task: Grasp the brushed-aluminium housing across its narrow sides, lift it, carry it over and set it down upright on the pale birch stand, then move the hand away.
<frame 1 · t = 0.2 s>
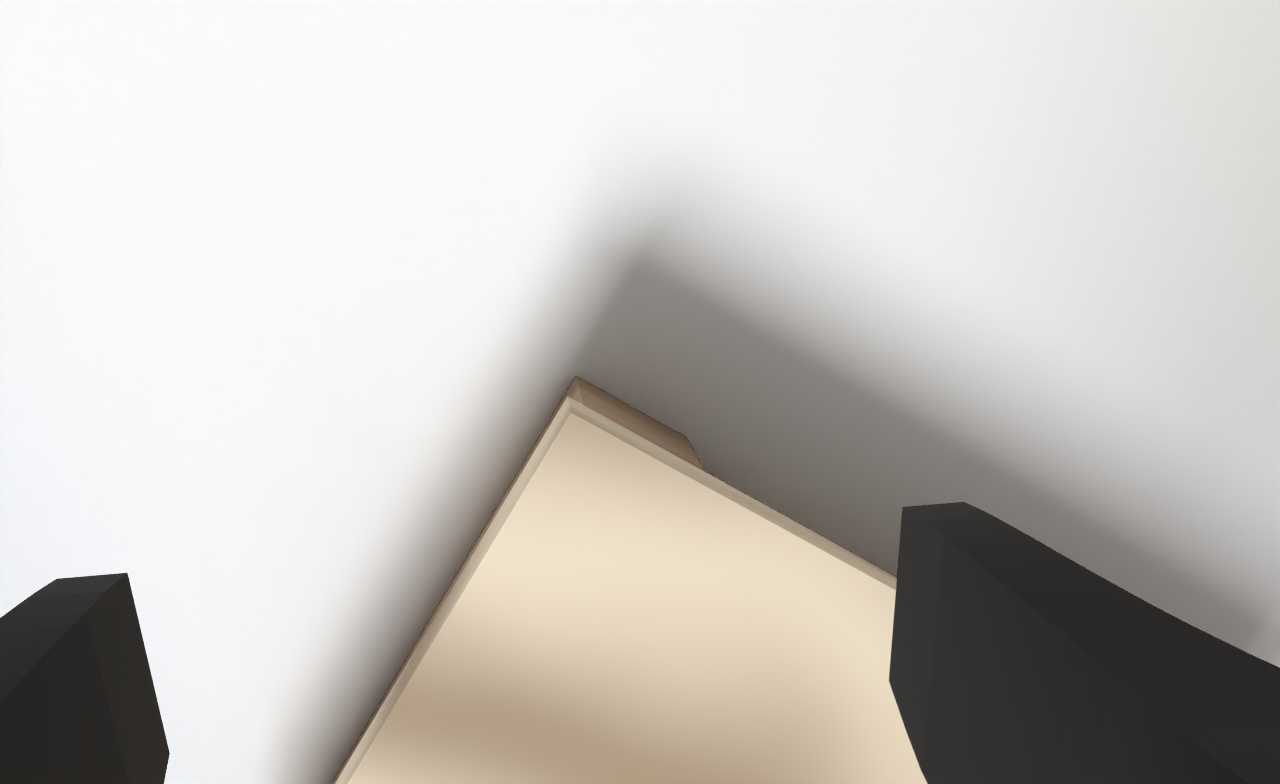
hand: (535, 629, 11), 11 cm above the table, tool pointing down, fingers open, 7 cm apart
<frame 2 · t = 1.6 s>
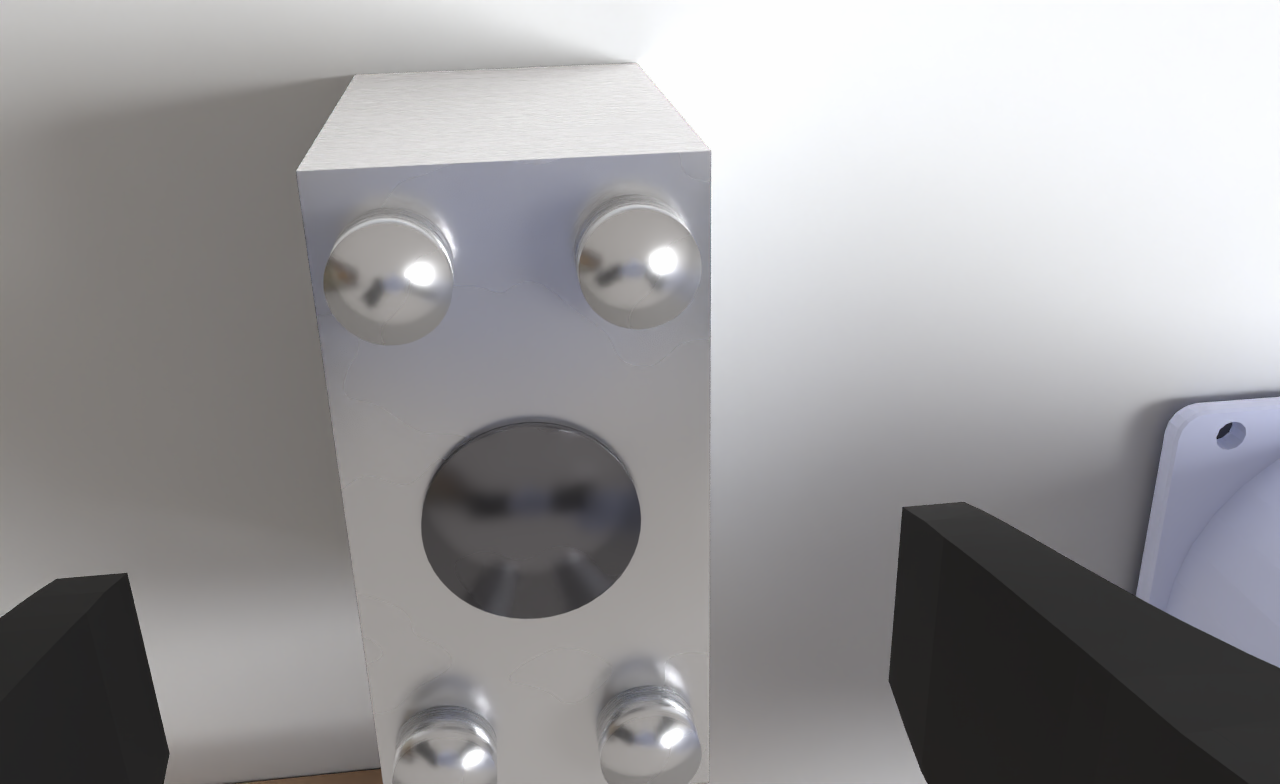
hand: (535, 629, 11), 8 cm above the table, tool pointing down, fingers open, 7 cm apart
housing: (515, 329, 18), on the table
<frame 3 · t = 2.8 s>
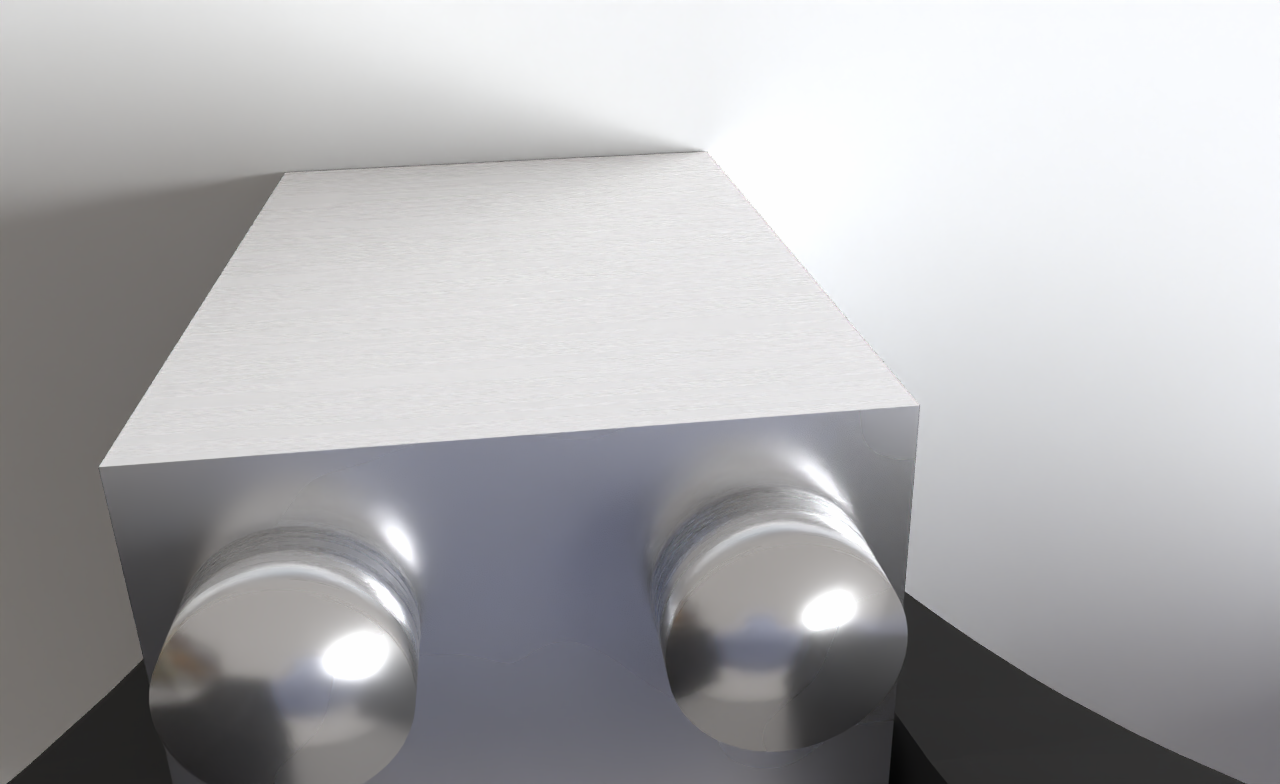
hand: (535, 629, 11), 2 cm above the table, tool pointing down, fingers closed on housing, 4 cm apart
housing: (525, 525, 13), on the table, touching gripper
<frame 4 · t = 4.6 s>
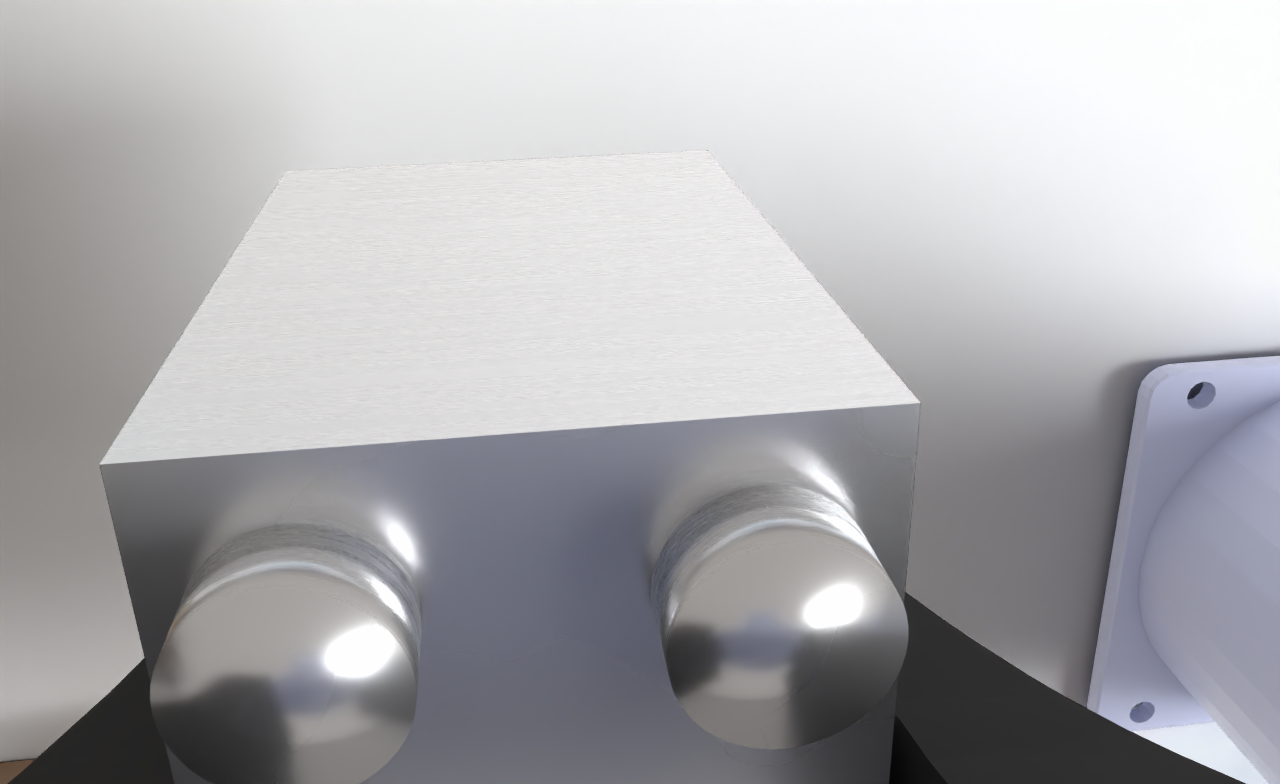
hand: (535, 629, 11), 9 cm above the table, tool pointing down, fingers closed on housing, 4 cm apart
housing: (526, 524, 13), point 7 cm above the table, touching gripper
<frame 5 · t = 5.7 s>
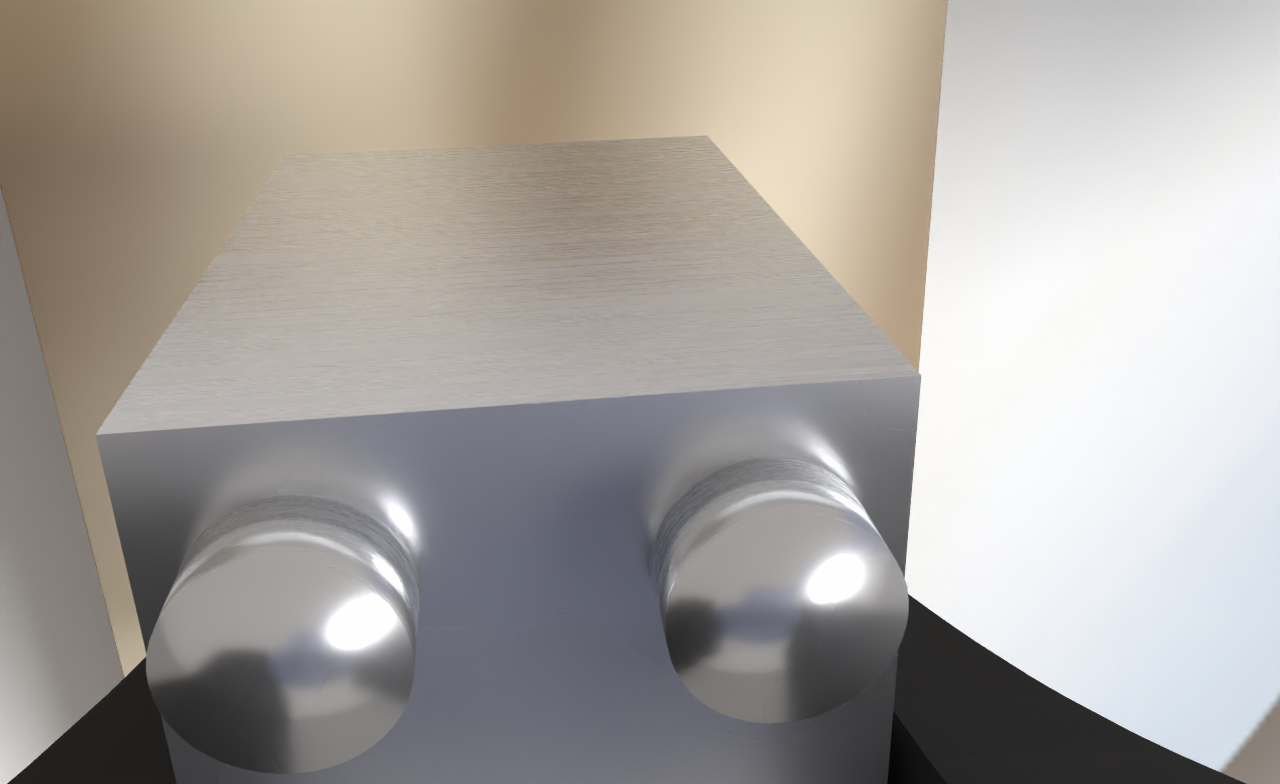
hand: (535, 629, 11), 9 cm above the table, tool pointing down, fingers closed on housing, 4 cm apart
stand: (504, 351, 19), on the table
housing: (525, 512, 13), point 7 cm above the table, touching gripper
when the fingers open (6 cm above the table, at t = 6.7 s): housing drops 1 cm, resting on stand.
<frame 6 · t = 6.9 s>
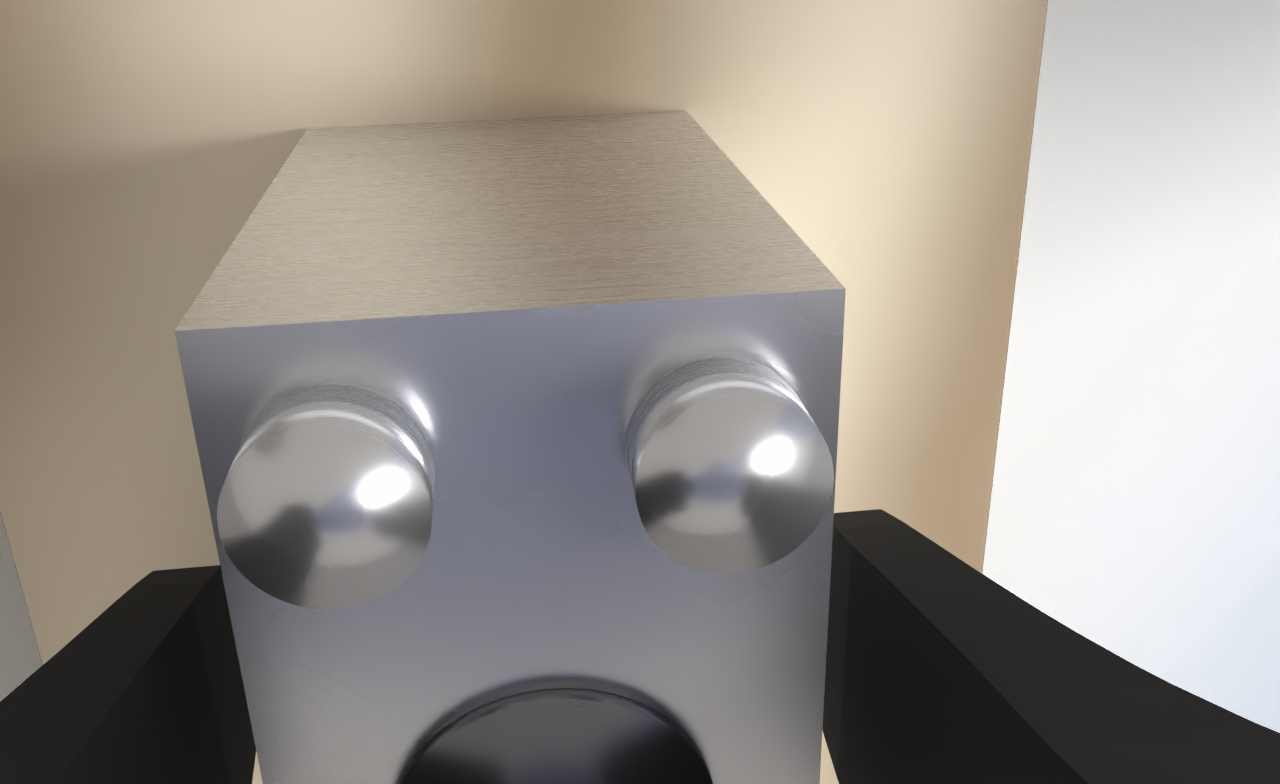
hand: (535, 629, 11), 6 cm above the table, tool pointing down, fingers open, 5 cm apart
stand: (514, 369, 17), on the table
housing: (523, 454, 14), point 3 cm above the table, touching stand
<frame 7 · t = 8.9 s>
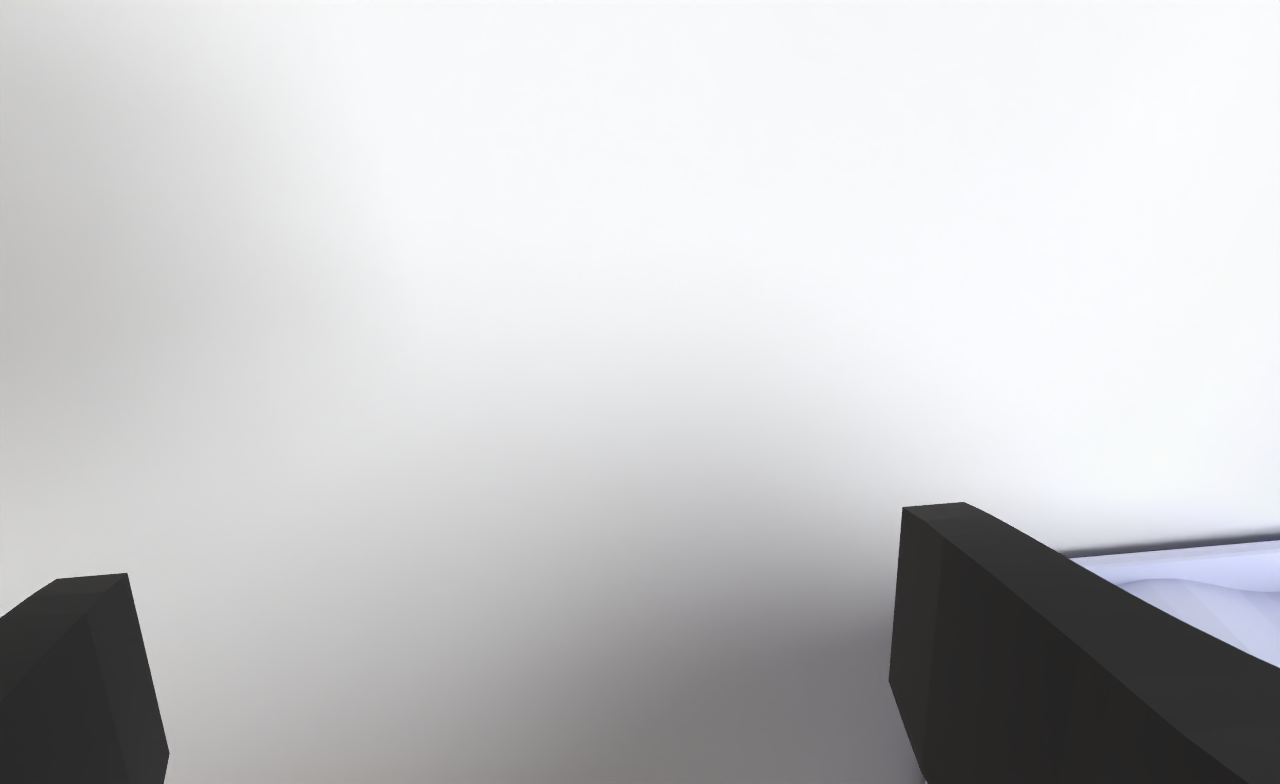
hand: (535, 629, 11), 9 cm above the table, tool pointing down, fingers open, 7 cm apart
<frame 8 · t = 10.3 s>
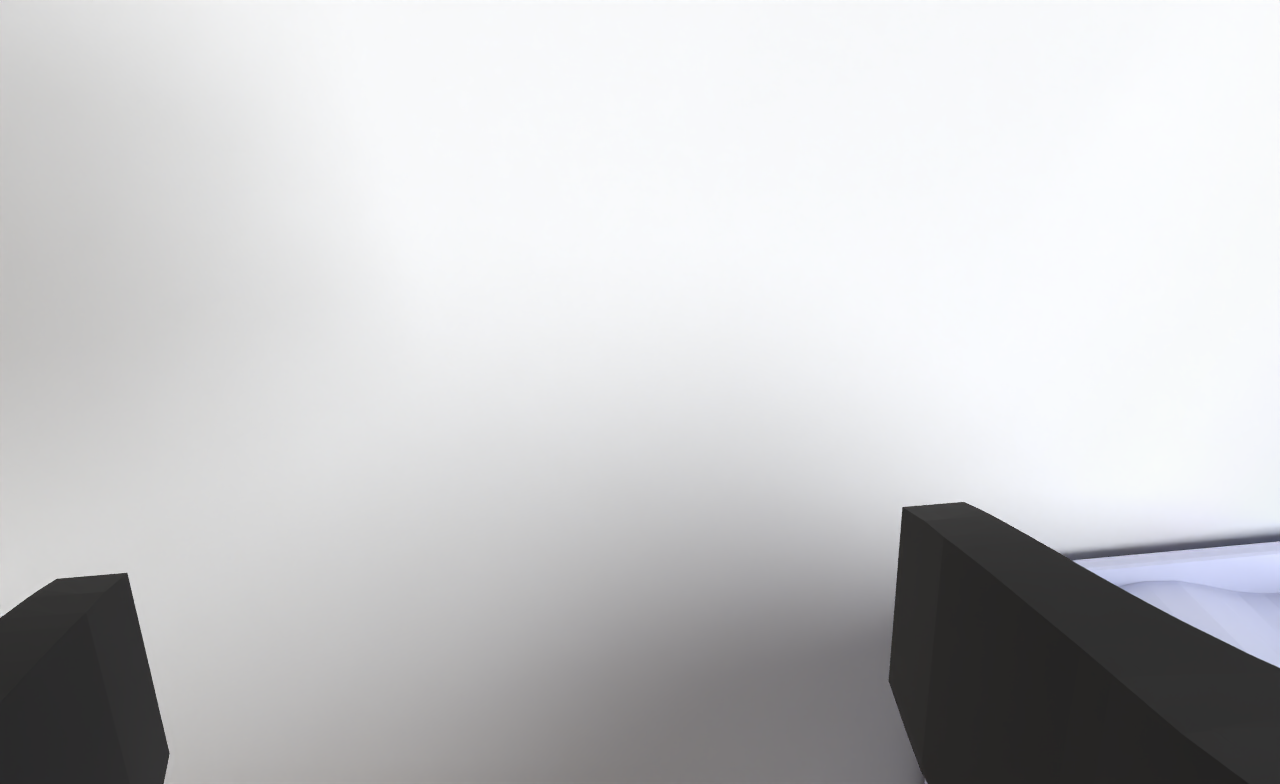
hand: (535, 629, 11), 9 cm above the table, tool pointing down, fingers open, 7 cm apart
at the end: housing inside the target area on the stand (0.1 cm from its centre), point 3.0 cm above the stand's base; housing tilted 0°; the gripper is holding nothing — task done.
